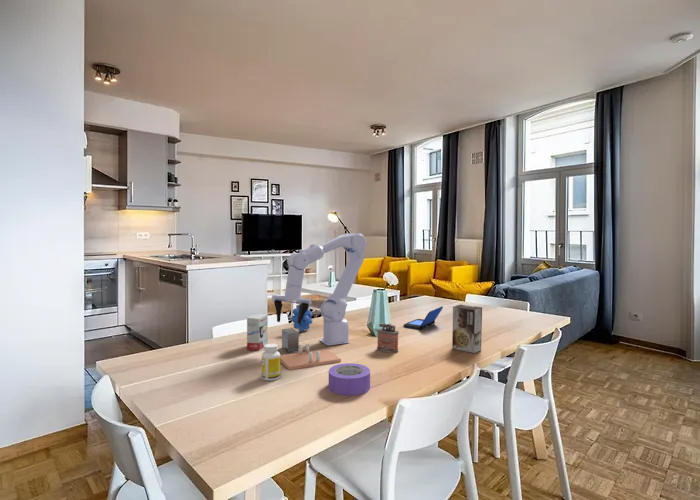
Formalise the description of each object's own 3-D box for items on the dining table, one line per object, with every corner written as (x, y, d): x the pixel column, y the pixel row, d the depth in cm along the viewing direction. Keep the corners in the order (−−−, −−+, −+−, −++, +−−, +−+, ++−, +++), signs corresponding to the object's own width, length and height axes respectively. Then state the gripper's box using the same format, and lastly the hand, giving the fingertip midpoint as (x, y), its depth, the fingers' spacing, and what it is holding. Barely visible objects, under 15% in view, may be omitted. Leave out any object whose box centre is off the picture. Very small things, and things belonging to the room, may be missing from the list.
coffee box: (481, 350, 149) (483, 307, 148) (474, 353, 144) (475, 309, 143) (459, 344, 155) (460, 303, 154) (451, 348, 150) (452, 306, 149)
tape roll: (337, 399, 105) (337, 380, 104) (322, 383, 115) (322, 366, 115) (377, 392, 109) (377, 374, 109) (359, 377, 120) (359, 361, 120)
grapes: (298, 336, 164) (298, 307, 163) (287, 333, 168) (287, 305, 168) (318, 331, 173) (318, 303, 172) (308, 328, 177) (308, 301, 177)
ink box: (258, 351, 144) (258, 318, 143) (246, 350, 145) (246, 317, 144) (268, 344, 152) (268, 313, 152) (256, 343, 153) (256, 313, 153)
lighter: (399, 350, 146) (399, 323, 146) (396, 353, 143) (397, 325, 143) (378, 347, 150) (379, 321, 149) (375, 350, 147) (376, 323, 146)
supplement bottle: (283, 375, 120) (283, 343, 119) (274, 382, 115) (274, 348, 114) (267, 373, 122) (267, 341, 121) (258, 379, 117) (258, 346, 116)
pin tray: (326, 351, 144) (326, 340, 144) (340, 361, 133) (340, 350, 133) (278, 358, 136) (278, 347, 136) (289, 369, 125) (289, 357, 125)
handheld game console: (417, 321, 195) (417, 302, 194) (443, 325, 187) (443, 306, 186) (402, 327, 182) (402, 307, 181) (429, 332, 174) (429, 311, 174)
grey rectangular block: (292, 346, 150) (292, 328, 150) (298, 351, 144) (298, 332, 143) (281, 347, 148) (282, 329, 148) (287, 353, 142) (288, 333, 142)
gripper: (276, 284, 140) (270, 322, 139) (315, 288, 144) (310, 326, 144) (273, 282, 146) (267, 319, 146) (311, 286, 151) (306, 322, 151)
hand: (288, 322), depth 145 cm, fingers open, 7 cm apart
